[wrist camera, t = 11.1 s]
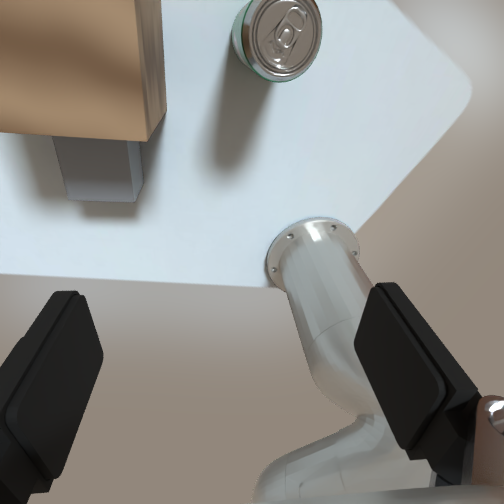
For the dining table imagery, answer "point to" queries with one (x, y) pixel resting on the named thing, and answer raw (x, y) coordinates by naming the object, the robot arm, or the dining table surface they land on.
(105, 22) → the shelf
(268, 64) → the soda can
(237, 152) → the dining table surface
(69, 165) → the grey u-shaped piece
